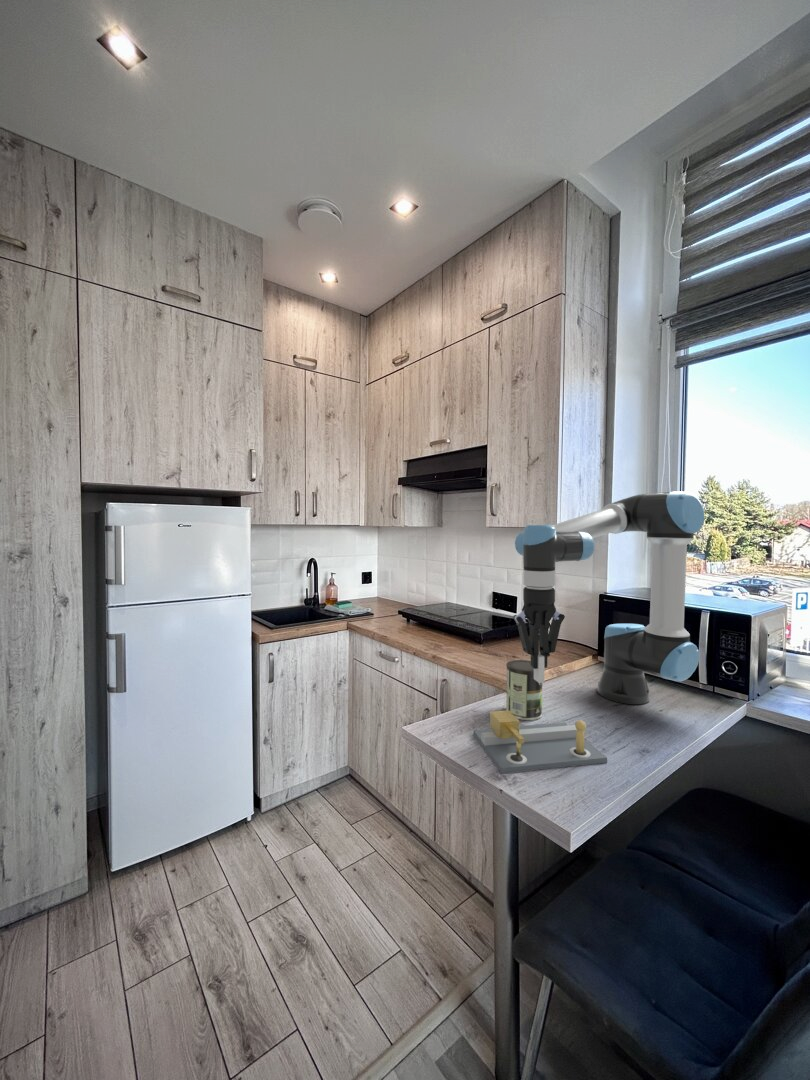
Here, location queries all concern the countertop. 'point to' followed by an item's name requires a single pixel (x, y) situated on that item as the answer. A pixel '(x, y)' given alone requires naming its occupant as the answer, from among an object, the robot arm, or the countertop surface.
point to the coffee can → (523, 691)
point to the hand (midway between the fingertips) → (539, 680)
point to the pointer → (506, 727)
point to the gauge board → (541, 747)
